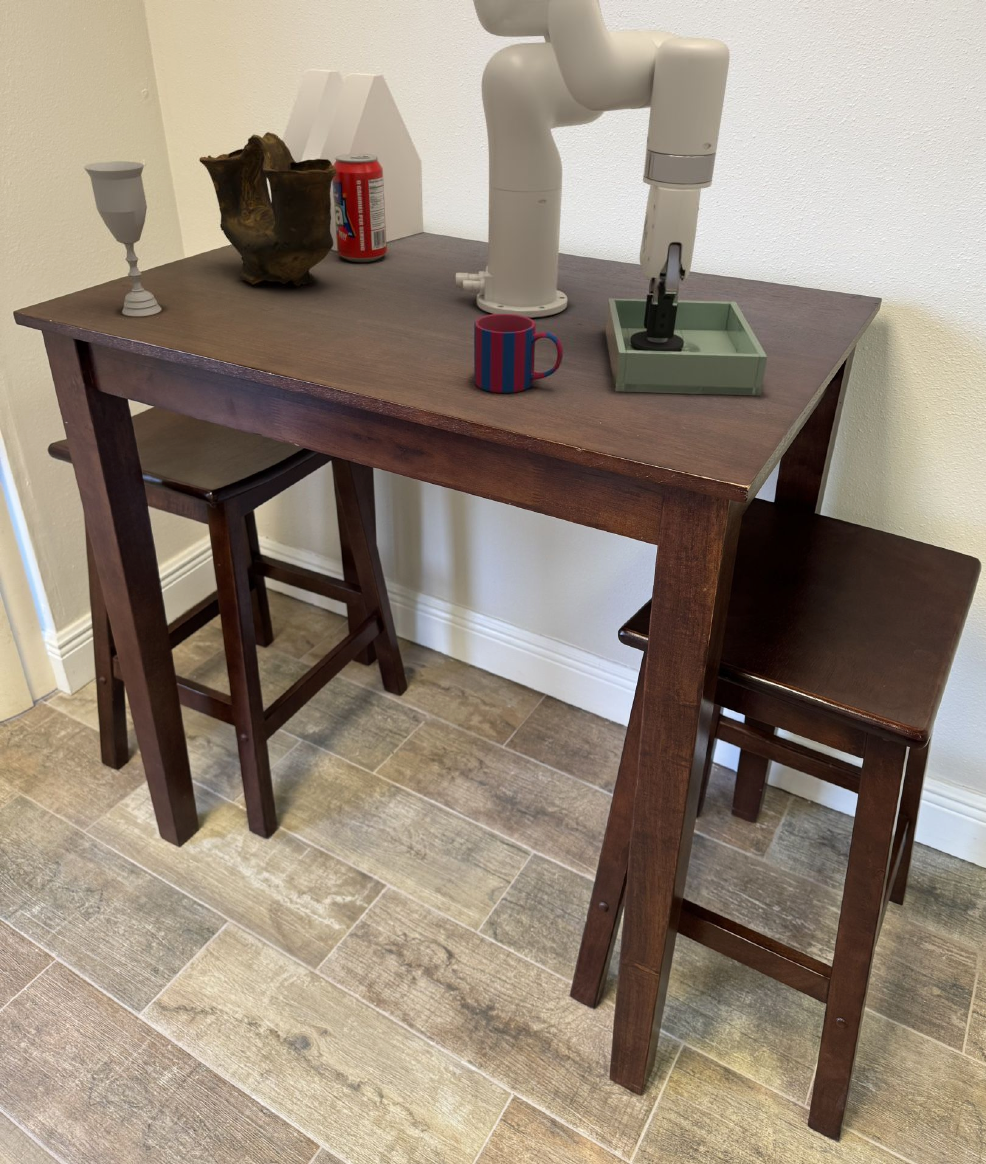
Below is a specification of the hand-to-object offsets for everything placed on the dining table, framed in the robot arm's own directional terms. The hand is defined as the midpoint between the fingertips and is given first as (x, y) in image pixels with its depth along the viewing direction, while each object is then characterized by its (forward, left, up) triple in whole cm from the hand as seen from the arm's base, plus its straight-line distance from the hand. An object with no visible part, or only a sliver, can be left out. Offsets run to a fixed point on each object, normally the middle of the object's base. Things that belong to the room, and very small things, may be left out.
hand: (658, 331), depth 113 cm
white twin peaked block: (-47, +57, -3) cm, 73 cm away
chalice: (-68, +12, -3) cm, 69 cm away
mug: (-17, -11, -3) cm, 20 cm away
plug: (0, 0, -2) cm, 2 cm away
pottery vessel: (-53, +28, -3) cm, 60 cm away
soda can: (-43, +42, -3) cm, 60 cm away
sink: (+2, -2, -3) cm, 4 cm away
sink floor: (+2, -2, -3) cm, 4 cm away
